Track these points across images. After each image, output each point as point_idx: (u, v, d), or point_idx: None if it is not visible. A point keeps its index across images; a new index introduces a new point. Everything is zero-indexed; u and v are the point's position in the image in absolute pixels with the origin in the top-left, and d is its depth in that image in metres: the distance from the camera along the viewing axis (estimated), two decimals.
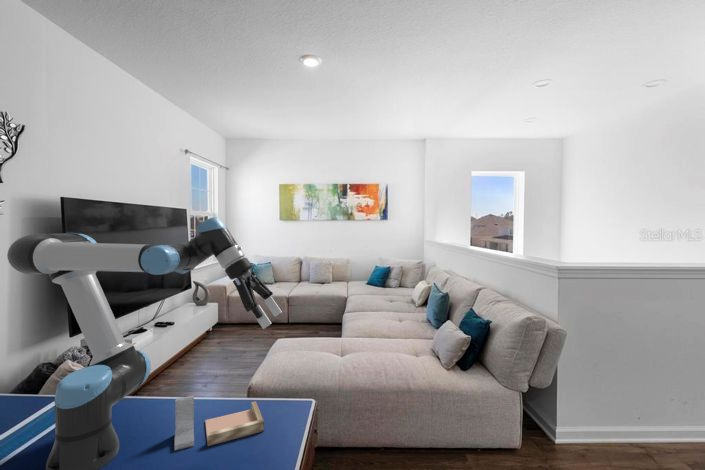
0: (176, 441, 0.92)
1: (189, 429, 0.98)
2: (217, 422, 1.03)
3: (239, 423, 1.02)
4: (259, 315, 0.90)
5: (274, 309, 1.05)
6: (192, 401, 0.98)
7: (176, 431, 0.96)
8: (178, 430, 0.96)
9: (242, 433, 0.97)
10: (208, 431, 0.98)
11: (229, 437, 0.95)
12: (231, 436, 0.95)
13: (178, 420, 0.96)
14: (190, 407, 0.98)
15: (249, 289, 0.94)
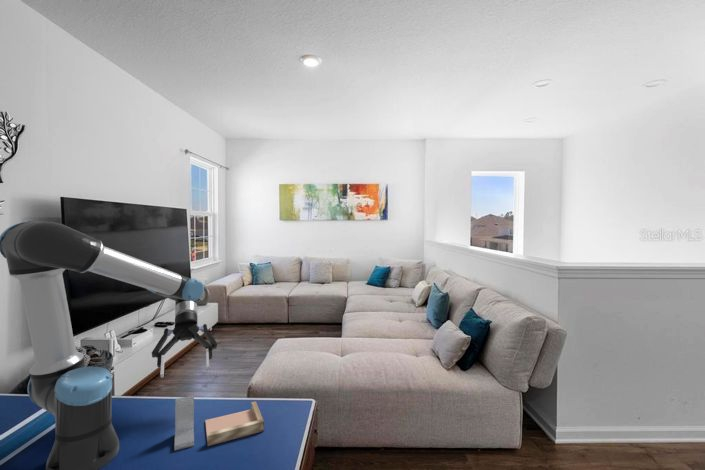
0: (176, 441, 0.92)
1: (189, 429, 0.98)
2: (217, 422, 1.03)
3: (239, 423, 1.02)
4: (211, 357, 1.13)
5: (163, 369, 1.05)
6: (192, 401, 0.98)
7: (176, 431, 0.96)
8: (178, 430, 0.96)
9: (242, 433, 0.97)
10: (208, 431, 0.98)
11: (229, 437, 0.95)
12: (231, 436, 0.95)
13: (178, 420, 0.96)
14: (190, 407, 0.98)
15: None
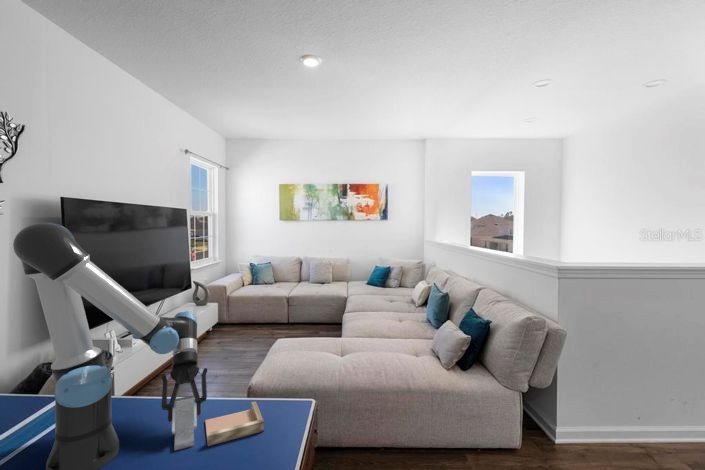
0: (176, 441, 0.92)
1: (189, 429, 0.98)
2: (217, 422, 1.03)
3: (239, 423, 1.02)
4: None
5: None
6: (192, 401, 0.98)
7: (176, 431, 0.96)
8: (177, 430, 0.96)
9: (242, 433, 0.97)
10: (208, 431, 0.98)
11: (229, 437, 0.95)
12: (231, 436, 0.95)
13: (178, 420, 0.96)
14: (190, 407, 0.98)
15: None
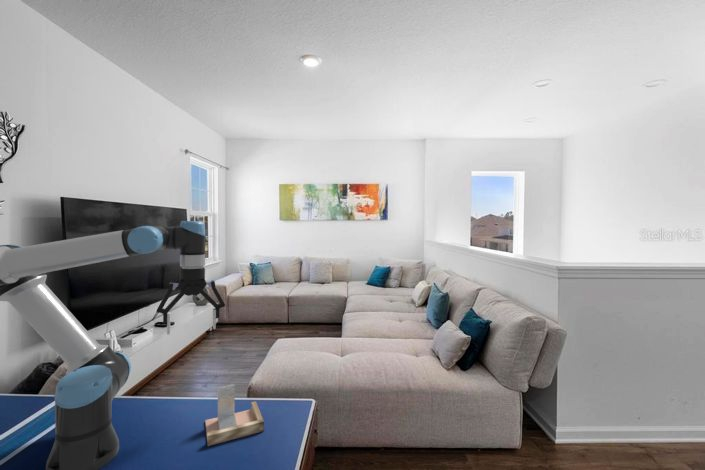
0: (220, 426, 0.99)
1: (230, 415, 1.04)
2: (217, 422, 1.03)
3: (239, 423, 1.02)
4: None
5: None
6: (233, 389, 1.04)
7: (219, 417, 1.03)
8: (220, 416, 1.03)
9: (242, 433, 0.97)
10: (208, 431, 0.98)
11: (229, 437, 0.95)
12: (231, 436, 0.95)
13: (220, 407, 1.03)
14: (231, 395, 1.04)
15: None
